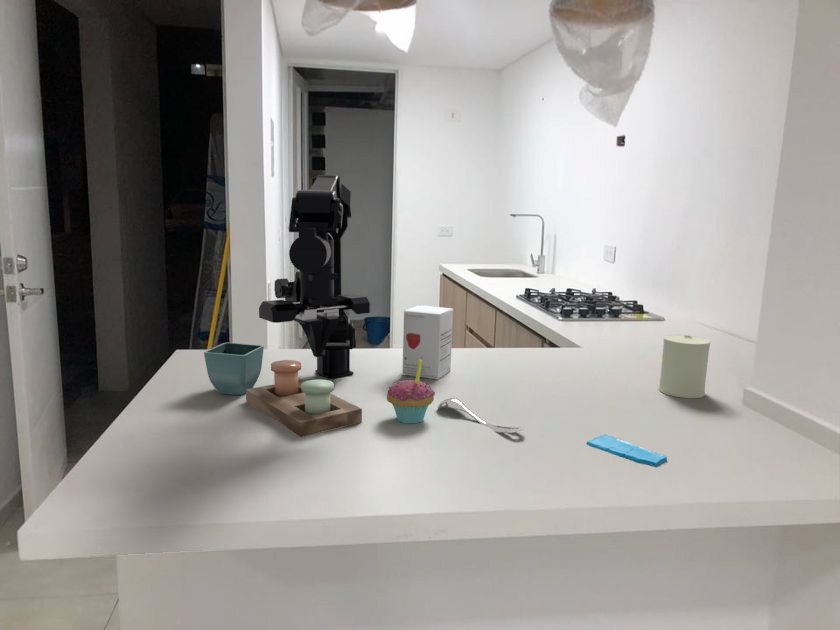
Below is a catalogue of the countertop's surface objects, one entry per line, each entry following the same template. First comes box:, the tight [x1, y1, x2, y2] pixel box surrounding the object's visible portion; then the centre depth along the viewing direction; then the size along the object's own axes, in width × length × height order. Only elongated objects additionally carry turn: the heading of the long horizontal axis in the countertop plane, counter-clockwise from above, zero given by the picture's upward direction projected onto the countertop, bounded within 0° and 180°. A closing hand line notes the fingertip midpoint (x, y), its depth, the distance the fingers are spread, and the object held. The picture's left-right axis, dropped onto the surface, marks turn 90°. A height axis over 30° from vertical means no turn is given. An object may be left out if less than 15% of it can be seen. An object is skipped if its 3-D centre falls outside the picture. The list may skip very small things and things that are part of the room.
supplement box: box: [402, 304, 454, 380], centre depth 139 cm, size 9×9×15 cm
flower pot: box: [203, 342, 265, 396], centre depth 123 cm, size 9×9×9 cm
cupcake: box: [386, 356, 436, 424], centre depth 109 cm, size 9×8×12 cm
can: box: [657, 334, 711, 399], centre depth 130 cm, size 9×9×12 cm
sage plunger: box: [301, 379, 335, 415], centre depth 107 cm, size 6×6×6 cm
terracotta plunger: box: [270, 359, 302, 397], centre depth 116 cm, size 6×6×6 cm
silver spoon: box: [437, 397, 526, 434], centre depth 109 cm, size 20×4×5 cm
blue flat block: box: [586, 434, 668, 467], centre depth 98 cm, size 2×12×6 cm
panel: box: [245, 379, 363, 438], centre depth 112 cm, size 12×22×2 cm, turn 39°
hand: (317, 356), depth 106 cm, fingers closed
